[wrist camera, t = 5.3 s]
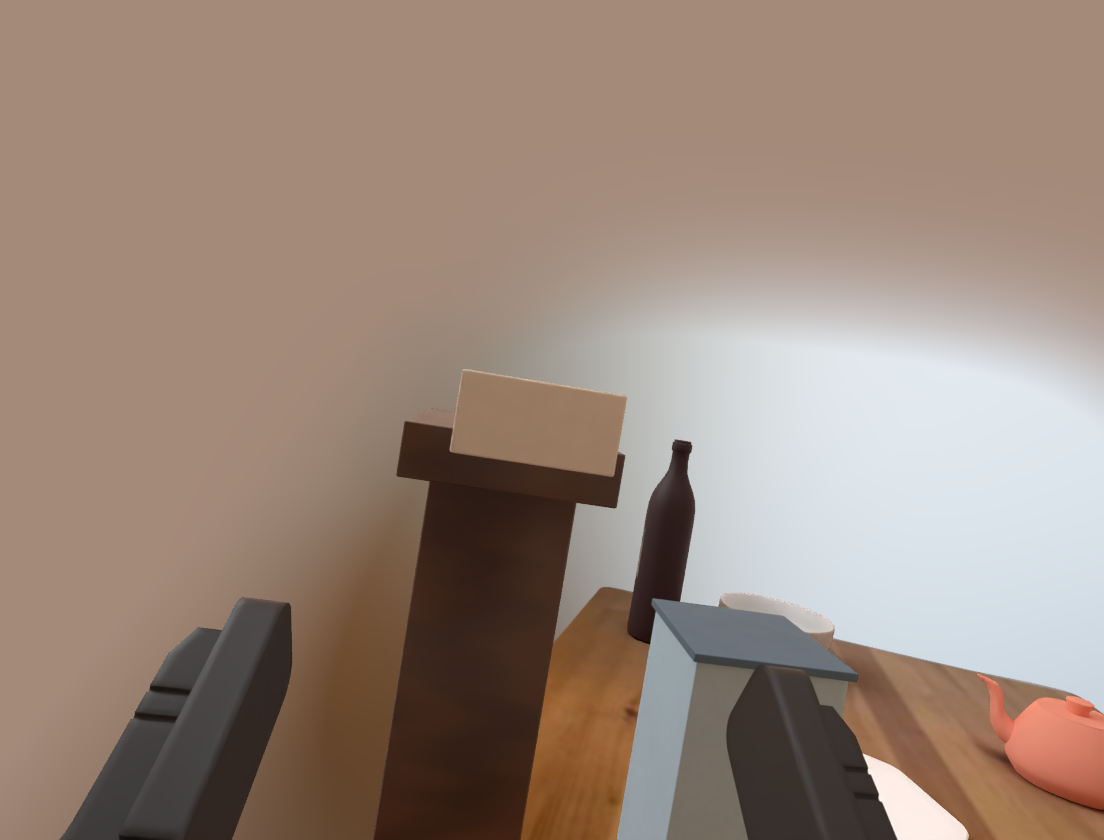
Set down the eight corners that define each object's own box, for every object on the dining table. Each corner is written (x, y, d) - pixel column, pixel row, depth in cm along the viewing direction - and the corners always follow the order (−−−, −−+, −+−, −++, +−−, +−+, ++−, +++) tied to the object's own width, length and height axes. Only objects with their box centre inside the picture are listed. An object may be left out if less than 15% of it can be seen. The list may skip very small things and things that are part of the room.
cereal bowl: (840, 691, 92) (849, 640, 92) (718, 664, 94) (726, 615, 94) (811, 647, 109) (818, 605, 109) (707, 626, 111) (715, 584, 111)
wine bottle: (663, 629, 106) (695, 442, 105) (680, 647, 99) (714, 446, 98) (620, 625, 105) (653, 435, 103) (634, 643, 98) (669, 439, 97)
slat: (448, 452, 16) (462, 368, 16) (469, 413, 36) (475, 376, 36) (613, 477, 16) (627, 395, 16) (543, 425, 36) (549, 388, 36)
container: (631, 1018, 38) (695, 653, 37) (602, 890, 47) (652, 597, 46) (793, 1028, 39) (858, 673, 38) (732, 901, 48) (783, 615, 47)
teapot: (1171, 843, 66) (1190, 749, 66) (960, 762, 76) (975, 681, 76) (1149, 793, 76) (1166, 712, 76) (965, 728, 86) (979, 656, 86)
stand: (271, 1276, 25) (404, 420, 24) (340, 986, 37) (431, 407, 36) (486, 1280, 26) (625, 454, 24) (486, 995, 38) (579, 431, 36)
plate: (756, 895, 49) (760, 876, 49) (656, 729, 72) (658, 715, 72) (1033, 906, 53) (1037, 888, 53) (854, 744, 76) (856, 732, 76)
